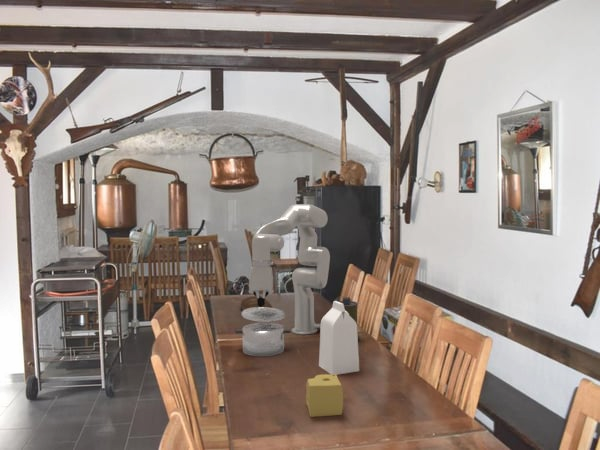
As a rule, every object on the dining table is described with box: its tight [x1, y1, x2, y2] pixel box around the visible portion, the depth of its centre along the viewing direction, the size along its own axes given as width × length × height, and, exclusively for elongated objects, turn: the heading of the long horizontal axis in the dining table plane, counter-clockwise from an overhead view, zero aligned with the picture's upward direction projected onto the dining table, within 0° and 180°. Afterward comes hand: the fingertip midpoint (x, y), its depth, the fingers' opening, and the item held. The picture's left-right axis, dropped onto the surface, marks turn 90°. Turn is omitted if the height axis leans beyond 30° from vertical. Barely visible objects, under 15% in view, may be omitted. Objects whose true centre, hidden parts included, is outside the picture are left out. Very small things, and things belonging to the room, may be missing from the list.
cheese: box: [305, 373, 344, 418], centre depth 170 cm, size 10×11×10 cm
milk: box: [318, 300, 360, 376], centre depth 210 cm, size 12×12×26 cm
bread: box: [240, 295, 273, 311], centre depth 310 cm, size 16×36×8 cm, turn 18°
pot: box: [235, 322, 292, 357], centre depth 235 cm, size 24×18×10 cm
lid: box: [241, 307, 286, 323], centre depth 237 cm, size 19×20×3 cm
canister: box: [338, 296, 359, 325], centre depth 249 cm, size 11×10×20 cm
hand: (261, 307), depth 230 cm, fingers closed
